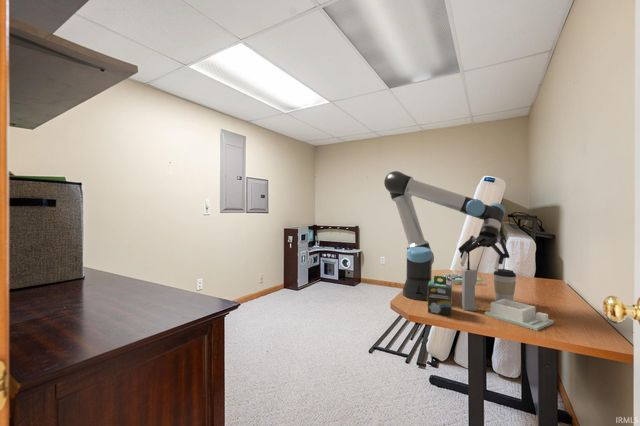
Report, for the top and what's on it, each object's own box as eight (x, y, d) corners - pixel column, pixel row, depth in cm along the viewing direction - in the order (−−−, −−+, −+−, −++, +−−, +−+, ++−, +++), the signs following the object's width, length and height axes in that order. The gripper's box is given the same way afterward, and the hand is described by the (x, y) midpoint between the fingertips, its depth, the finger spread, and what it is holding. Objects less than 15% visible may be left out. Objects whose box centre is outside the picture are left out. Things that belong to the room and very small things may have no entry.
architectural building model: (484, 314, 115) (484, 302, 115) (502, 309, 122) (502, 297, 122) (537, 330, 99) (537, 316, 99) (553, 323, 107) (554, 309, 107)
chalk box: (451, 309, 121) (452, 274, 121) (451, 316, 112) (452, 279, 112) (428, 306, 125) (429, 272, 125) (427, 312, 116) (427, 276, 116)
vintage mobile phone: (477, 311, 119) (478, 251, 119) (464, 310, 120) (465, 251, 120) (474, 308, 122) (475, 250, 122) (461, 307, 123) (462, 249, 123)
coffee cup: (518, 302, 132) (519, 269, 132) (512, 306, 126) (512, 272, 126) (496, 297, 139) (497, 266, 139) (489, 301, 133) (490, 269, 133)
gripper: (523, 237, 126) (513, 276, 116) (464, 234, 145) (451, 267, 135) (520, 226, 122) (510, 265, 113) (460, 224, 141) (446, 257, 131)
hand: (478, 266), depth 124 cm, fingers open, 13 cm apart
